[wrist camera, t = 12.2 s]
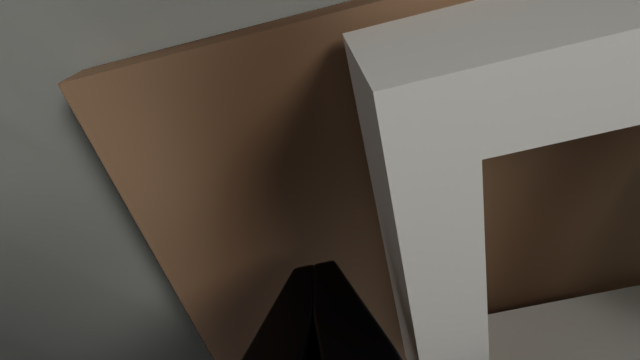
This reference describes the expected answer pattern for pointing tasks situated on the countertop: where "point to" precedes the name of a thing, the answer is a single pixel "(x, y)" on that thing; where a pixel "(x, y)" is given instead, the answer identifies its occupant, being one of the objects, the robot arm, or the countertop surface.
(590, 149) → the board
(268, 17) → the countertop surface
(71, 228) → the countertop surface
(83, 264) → the countertop surface
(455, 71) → the white bent bar
